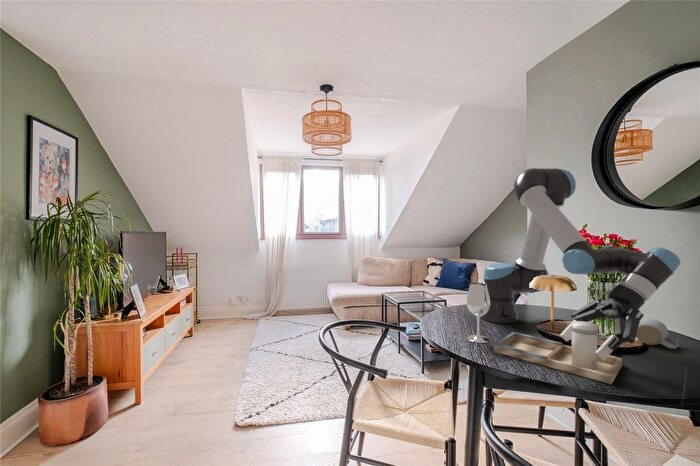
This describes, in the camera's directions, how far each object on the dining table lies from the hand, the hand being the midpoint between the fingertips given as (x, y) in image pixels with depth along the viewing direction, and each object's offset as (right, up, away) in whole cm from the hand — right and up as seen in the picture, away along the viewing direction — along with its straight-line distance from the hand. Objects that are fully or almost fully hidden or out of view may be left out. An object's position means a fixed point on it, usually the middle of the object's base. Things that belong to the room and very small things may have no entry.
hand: (580, 346), depth 95 cm
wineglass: (-20, -6, +24) cm, 31 cm away
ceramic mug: (+38, -5, +18) cm, 43 cm away
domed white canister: (+2, -6, +1) cm, 6 cm away
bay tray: (-4, -6, +6) cm, 9 cm away
